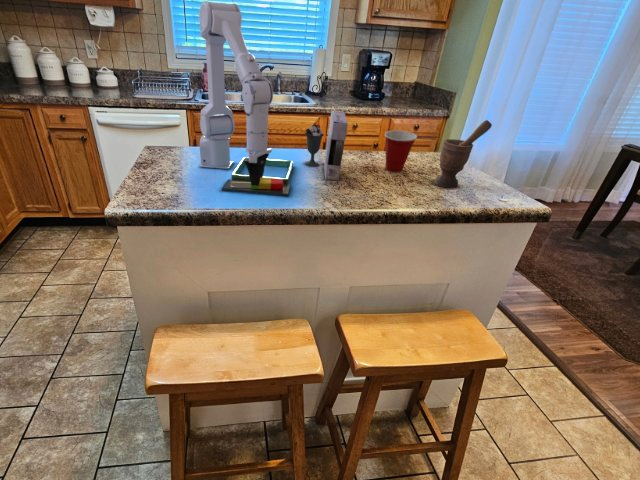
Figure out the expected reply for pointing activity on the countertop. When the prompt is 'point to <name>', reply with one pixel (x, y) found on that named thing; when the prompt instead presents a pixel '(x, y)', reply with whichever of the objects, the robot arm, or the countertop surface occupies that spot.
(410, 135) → the plastic cup
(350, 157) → the countertop surface
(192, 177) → the countertop surface
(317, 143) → the sundae
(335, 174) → the cake pan box
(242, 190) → the slate board
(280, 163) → the baking frame
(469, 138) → the mortar and pestle
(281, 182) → the popsicle
